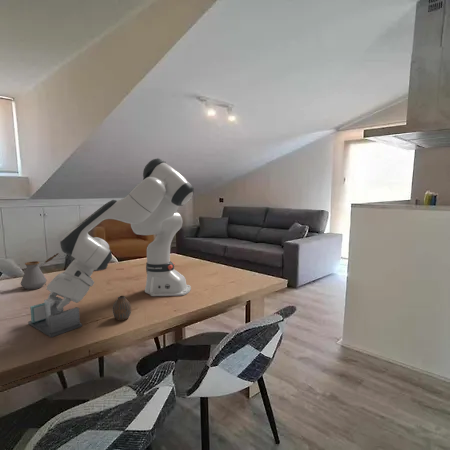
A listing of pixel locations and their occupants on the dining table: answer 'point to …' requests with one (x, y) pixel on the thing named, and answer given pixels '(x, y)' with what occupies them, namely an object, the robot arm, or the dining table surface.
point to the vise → (59, 322)
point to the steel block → (51, 307)
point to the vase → (121, 308)
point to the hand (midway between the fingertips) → (52, 306)
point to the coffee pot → (34, 275)
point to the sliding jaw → (37, 312)
